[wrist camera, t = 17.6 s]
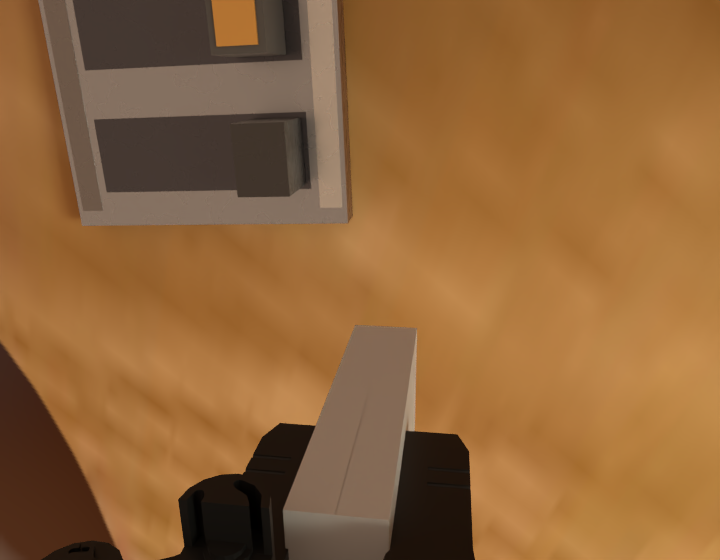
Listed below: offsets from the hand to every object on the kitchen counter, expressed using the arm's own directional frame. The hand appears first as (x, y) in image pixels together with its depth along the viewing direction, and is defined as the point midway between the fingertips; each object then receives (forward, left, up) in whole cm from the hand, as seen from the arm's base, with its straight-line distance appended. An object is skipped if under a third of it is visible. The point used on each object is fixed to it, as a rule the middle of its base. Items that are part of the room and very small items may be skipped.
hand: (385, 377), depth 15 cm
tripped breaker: (-10, -9, -23) cm, 27 cm away
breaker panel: (-10, -14, -25) cm, 30 cm away
